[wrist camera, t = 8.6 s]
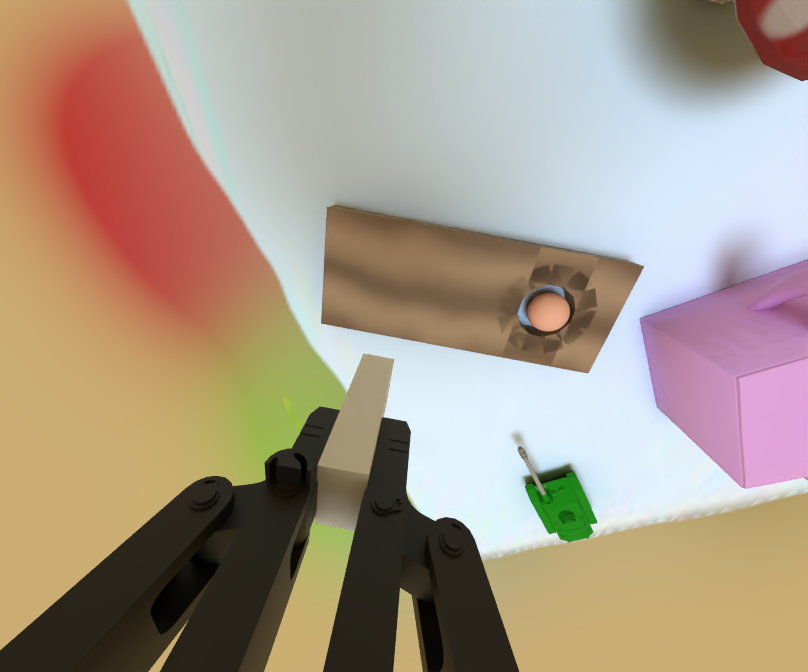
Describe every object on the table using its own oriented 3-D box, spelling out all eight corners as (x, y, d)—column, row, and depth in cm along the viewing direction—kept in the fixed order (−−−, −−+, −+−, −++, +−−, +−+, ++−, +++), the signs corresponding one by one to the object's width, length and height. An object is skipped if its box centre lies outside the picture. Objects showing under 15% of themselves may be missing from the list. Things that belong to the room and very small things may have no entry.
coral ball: (526, 288, 31) (563, 304, 28) (548, 285, 33) (584, 299, 30) (514, 323, 32) (547, 341, 30) (535, 318, 35) (568, 334, 32)
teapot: (664, 446, 40) (771, 563, 27) (631, 278, 31) (767, 336, 19) (805, 411, 36) (1005, 528, 24) (813, 207, 27) (1142, 222, 15)
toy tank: (549, 419, 40) (564, 447, 35) (589, 507, 46) (606, 541, 42) (499, 435, 42) (508, 465, 37) (544, 518, 48) (556, 551, 44)
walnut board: (334, 205, 30) (327, 207, 28) (628, 260, 30) (644, 266, 28) (328, 315, 36) (321, 323, 33) (578, 361, 36) (588, 373, 33)
